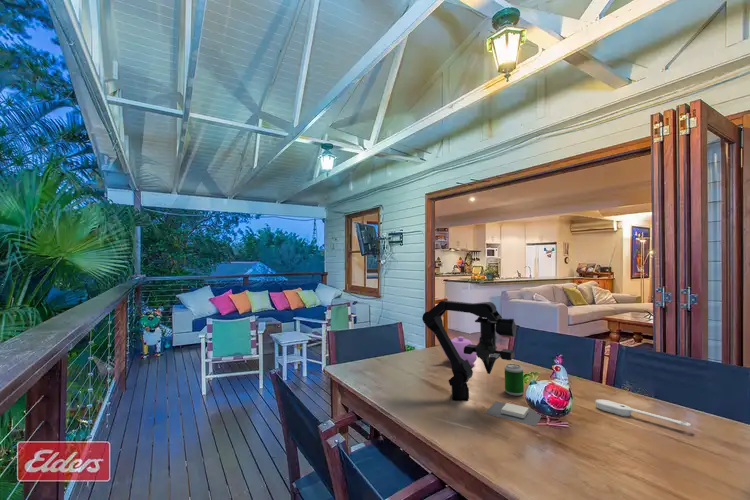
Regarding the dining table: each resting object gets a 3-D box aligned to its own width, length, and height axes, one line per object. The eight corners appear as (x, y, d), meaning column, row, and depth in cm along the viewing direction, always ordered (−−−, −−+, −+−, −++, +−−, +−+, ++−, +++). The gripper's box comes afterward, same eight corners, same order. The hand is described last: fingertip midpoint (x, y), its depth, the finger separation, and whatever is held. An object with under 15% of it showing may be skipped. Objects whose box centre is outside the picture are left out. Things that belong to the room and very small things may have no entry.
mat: (484, 414, 132) (484, 413, 132) (495, 402, 143) (495, 401, 143) (535, 427, 121) (535, 426, 121) (544, 412, 132) (544, 411, 132)
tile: (501, 409, 131) (523, 414, 126) (506, 402, 137) (528, 407, 132) (501, 413, 131) (524, 419, 126) (506, 407, 137) (528, 412, 132)
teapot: (434, 359, 206) (434, 333, 206) (467, 357, 208) (467, 332, 208) (445, 369, 186) (444, 341, 187) (481, 367, 188) (480, 339, 189)
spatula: (693, 430, 117) (692, 422, 117) (689, 436, 113) (689, 427, 113) (599, 404, 139) (598, 397, 139) (593, 408, 135) (592, 401, 135)
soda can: (525, 397, 147) (524, 368, 147) (506, 396, 148) (505, 368, 149) (521, 391, 154) (521, 363, 154) (503, 390, 156) (503, 362, 156)
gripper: (457, 335, 140) (458, 374, 139) (506, 340, 129) (507, 384, 128) (468, 330, 149) (469, 367, 148) (514, 335, 137) (515, 375, 137)
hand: (488, 373), depth 140 cm, fingers closed
